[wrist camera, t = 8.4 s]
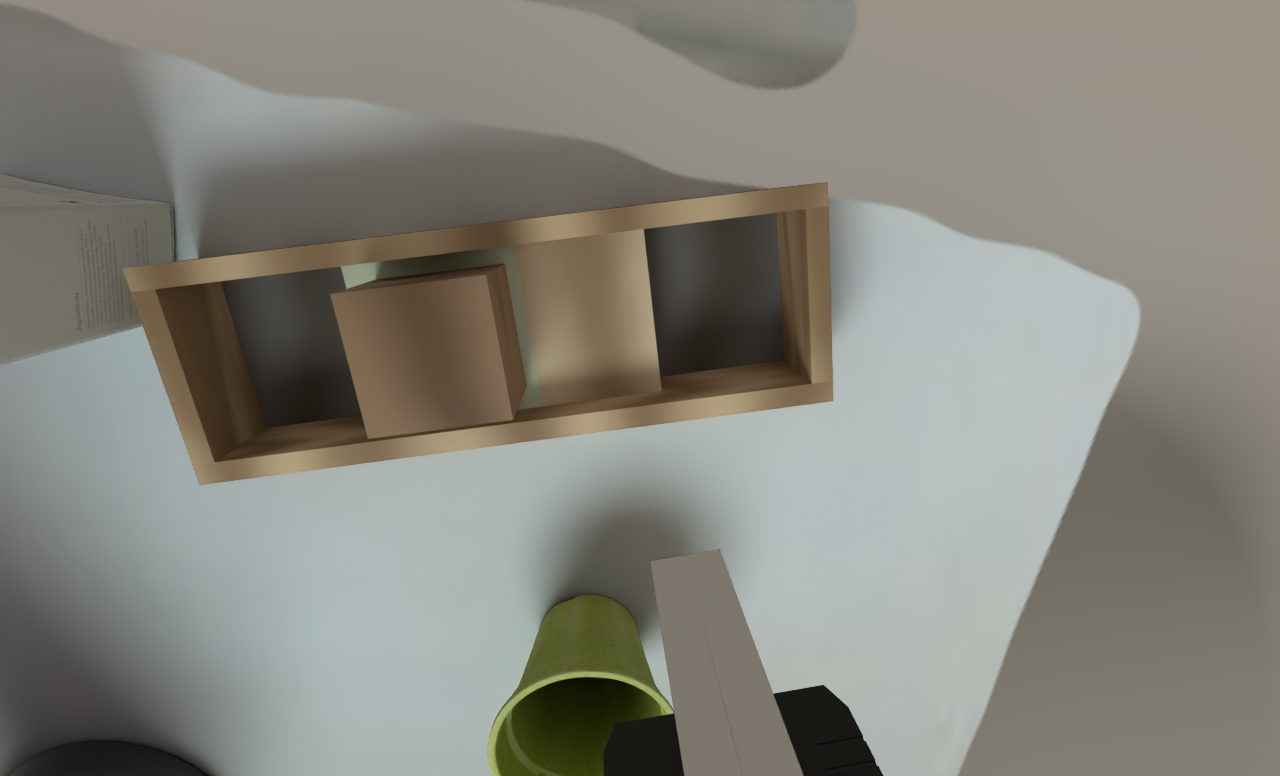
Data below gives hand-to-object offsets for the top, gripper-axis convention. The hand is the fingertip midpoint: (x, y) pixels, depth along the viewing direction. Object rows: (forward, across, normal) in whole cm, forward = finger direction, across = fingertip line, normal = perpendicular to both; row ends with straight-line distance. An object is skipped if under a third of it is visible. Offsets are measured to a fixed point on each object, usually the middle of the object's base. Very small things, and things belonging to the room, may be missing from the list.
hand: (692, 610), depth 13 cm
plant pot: (+21, +5, +16) cm, 27 cm away
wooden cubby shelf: (+21, +6, -4) cm, 22 cm away
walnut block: (+18, +8, -4) cm, 20 cm away
